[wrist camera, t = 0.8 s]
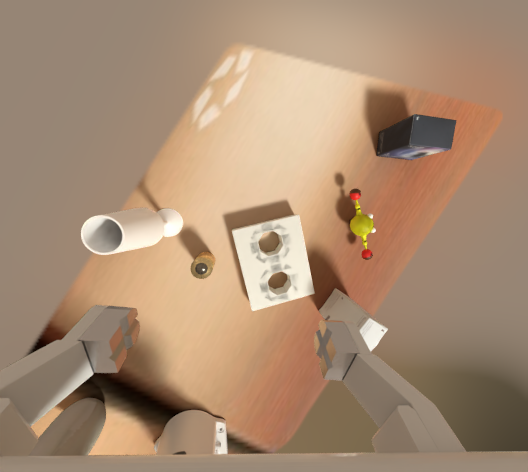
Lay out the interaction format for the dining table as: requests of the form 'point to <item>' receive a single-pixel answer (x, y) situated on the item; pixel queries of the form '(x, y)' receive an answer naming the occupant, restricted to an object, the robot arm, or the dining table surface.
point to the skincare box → (353, 317)
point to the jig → (274, 262)
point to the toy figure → (361, 224)
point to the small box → (416, 137)
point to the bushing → (203, 265)
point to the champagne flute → (129, 229)
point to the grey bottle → (73, 430)
